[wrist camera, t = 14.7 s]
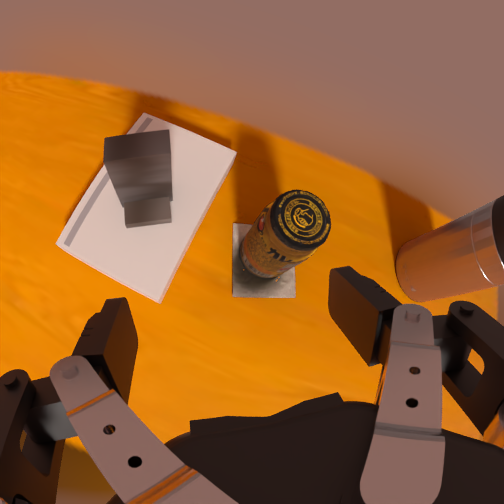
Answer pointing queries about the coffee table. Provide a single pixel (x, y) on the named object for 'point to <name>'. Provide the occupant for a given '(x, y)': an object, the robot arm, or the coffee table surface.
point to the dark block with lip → (141, 176)
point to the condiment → (278, 245)
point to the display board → (153, 236)
